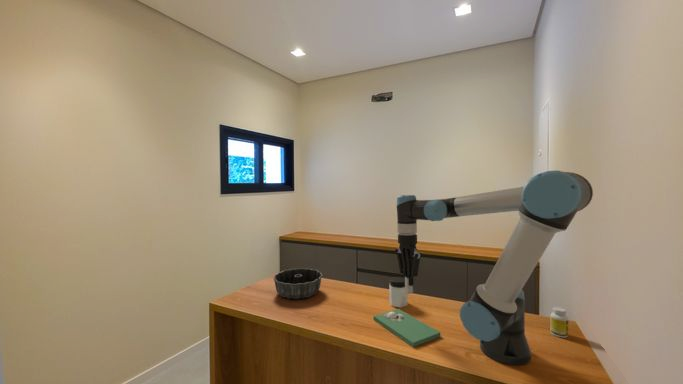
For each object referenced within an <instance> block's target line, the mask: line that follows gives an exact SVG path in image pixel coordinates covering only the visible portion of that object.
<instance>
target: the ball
mask: <svg viewBox="0 0 683 384" xmlns="http://www.w3.org/2000/svg"><path fill="white" fill-rule="evenodd" d="M388 318H390V319H396V318H397V315H396V313H395V312H390V313H389V314H388Z"/></svg>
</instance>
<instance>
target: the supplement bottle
mask: <svg viewBox="0 0 683 384" xmlns="http://www.w3.org/2000/svg"><path fill="white" fill-rule="evenodd" d="M549 322H550V334H551V335H553V336H555V337H557V338H563V339H564V338H565V339H566V338H567V337H569V317H568V316H567V310H566V309H565V308H563V307H559V306H554V307H552V312H551V313H550V321H549Z"/></svg>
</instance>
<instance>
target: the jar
mask: <svg viewBox="0 0 683 384" xmlns="http://www.w3.org/2000/svg"><path fill="white" fill-rule="evenodd" d="M388 287H389V289H388V290H389V291H388V293H389V294H388V295H389V297H388V298H389V300H388V301H389V304H390V305H391V307H395V308H398V309H400V308H404V307H408V300H409V299H408V294H406V293H405V284H404V277H400V276H395V277H390V278H389V286H388Z"/></svg>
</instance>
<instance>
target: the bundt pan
mask: <svg viewBox="0 0 683 384" xmlns="http://www.w3.org/2000/svg"><path fill="white" fill-rule="evenodd" d="M322 278H323V273H322V272H321V271H319V270H318V269H312V268H302V267H301V268H292V269H286V270H285V269H284V270H282V271H279V272H277V274H275V275H274V276H273V281H274V285H275V290H276V292H277V294H278V295H280V296H281V297H283V298H287V300H291V299H294V300H297V299H298V300H299V299H302V300H303V299H305V298H310V297H312V296H314V295H316V294H317V293H318V291H319V290H320V288H321V283H322V282H321V281H322Z"/></svg>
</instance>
